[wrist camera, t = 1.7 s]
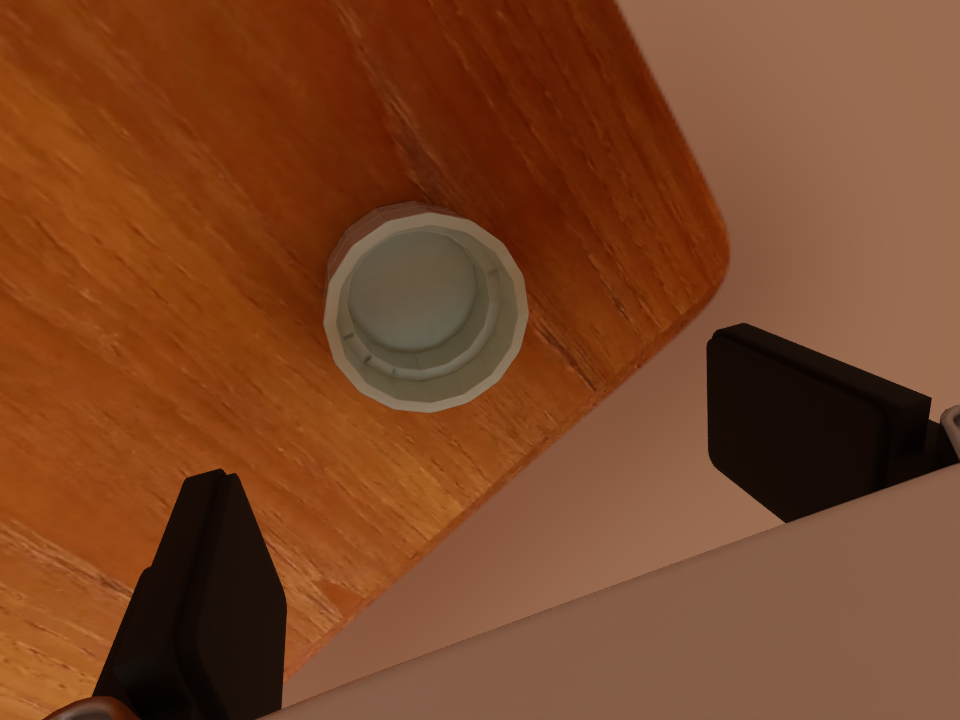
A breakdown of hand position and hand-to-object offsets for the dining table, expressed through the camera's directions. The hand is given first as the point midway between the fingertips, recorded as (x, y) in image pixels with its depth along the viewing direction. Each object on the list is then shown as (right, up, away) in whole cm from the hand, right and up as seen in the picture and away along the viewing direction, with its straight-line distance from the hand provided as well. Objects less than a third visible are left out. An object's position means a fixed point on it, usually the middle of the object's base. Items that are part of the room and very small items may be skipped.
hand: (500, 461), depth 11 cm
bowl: (-3, +5, +12) cm, 13 cm away
